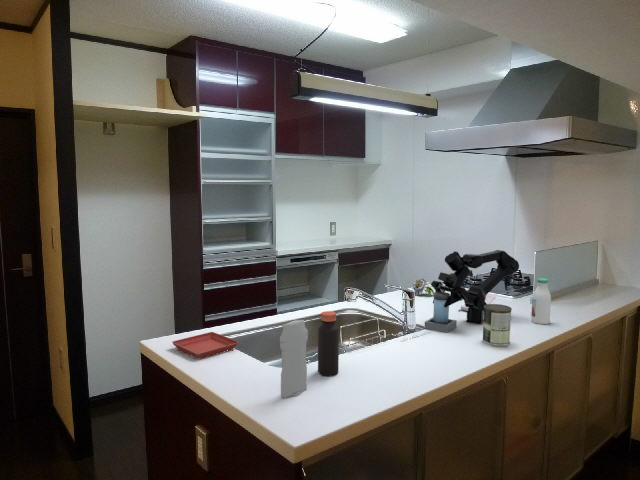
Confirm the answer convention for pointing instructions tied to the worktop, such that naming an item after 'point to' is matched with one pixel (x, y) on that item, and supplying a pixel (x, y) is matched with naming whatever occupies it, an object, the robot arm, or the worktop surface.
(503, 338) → the coffee can
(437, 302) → the blue-grey upright cylinder
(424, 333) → the worktop surface
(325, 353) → the vinegar
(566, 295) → the worktop surface
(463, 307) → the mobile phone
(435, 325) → the cartridge housing
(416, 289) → the passion flower
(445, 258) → the robot arm
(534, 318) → the milk bottle
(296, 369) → the tall pale column
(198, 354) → the plant saucer
